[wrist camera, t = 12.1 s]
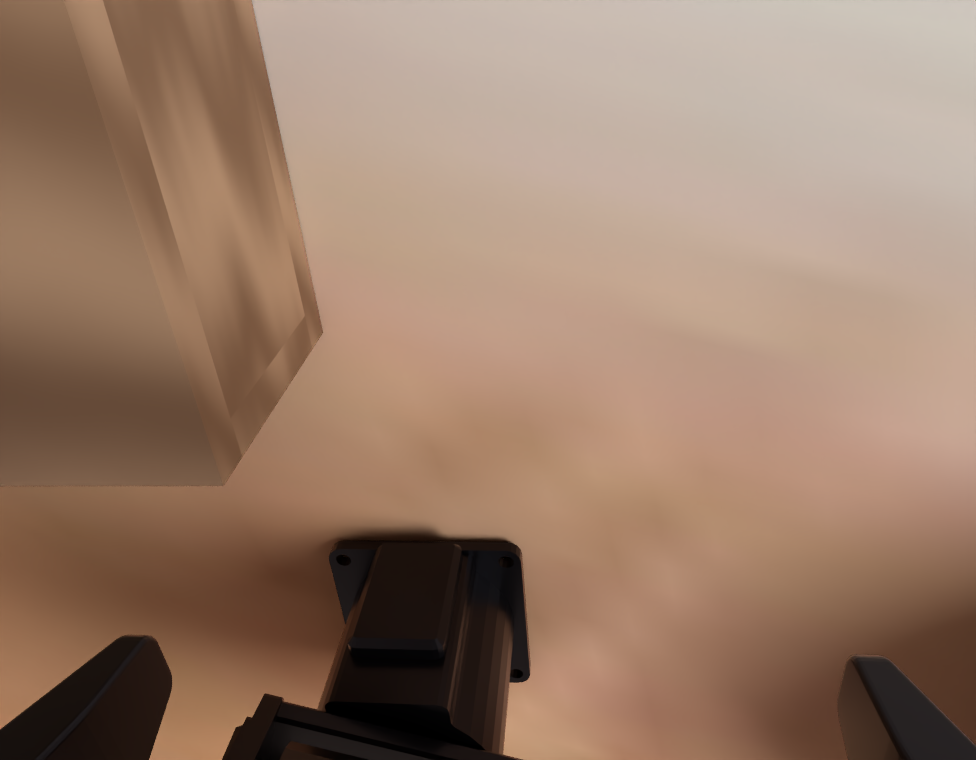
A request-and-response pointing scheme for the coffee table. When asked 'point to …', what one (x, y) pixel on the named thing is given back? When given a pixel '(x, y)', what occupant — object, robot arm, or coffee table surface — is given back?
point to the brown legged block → (142, 243)
